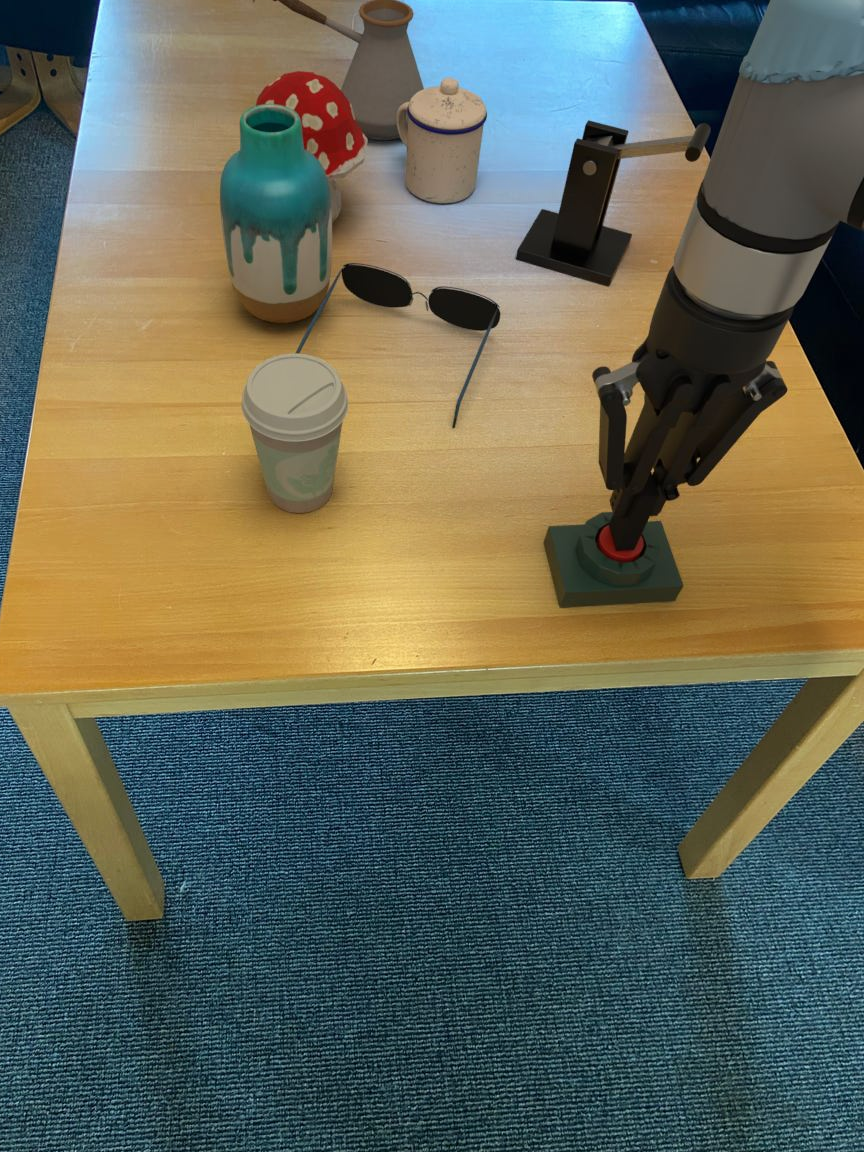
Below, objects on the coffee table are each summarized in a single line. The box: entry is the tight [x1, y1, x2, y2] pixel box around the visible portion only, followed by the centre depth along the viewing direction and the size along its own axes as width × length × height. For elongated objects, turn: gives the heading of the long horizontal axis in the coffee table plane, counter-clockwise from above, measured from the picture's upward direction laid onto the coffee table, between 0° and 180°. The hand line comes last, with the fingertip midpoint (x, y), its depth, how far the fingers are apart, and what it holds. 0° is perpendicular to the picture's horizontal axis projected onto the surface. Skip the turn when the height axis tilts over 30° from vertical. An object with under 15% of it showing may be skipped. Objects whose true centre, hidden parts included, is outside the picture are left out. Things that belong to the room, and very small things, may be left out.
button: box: [596, 525, 643, 563], centre depth 71 cm, size 4×4×2 cm
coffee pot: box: [252, 0, 425, 141], centre depth 105 cm, size 21×12×15 cm, turn 89°
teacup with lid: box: [396, 77, 488, 204], centre depth 100 cm, size 12×9×12 cm
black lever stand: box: [515, 120, 633, 287], centre depth 93 cm, size 11×9×13 cm
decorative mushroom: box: [254, 70, 369, 224], centre depth 93 cm, size 14×14×15 cm
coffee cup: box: [241, 352, 349, 514], centre depth 72 cm, size 8×8×12 cm
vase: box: [219, 104, 333, 324], centre depth 83 cm, size 11×11×19 cm
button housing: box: [543, 511, 685, 608], centre depth 72 cm, size 10×7×4 cm
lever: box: [586, 122, 712, 163], centre depth 87 cm, size 12×5×2 cm, turn 67°
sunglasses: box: [295, 262, 501, 429], centre depth 86 cm, size 17×15×5 cm
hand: (621, 537), depth 70 cm, fingers closed
